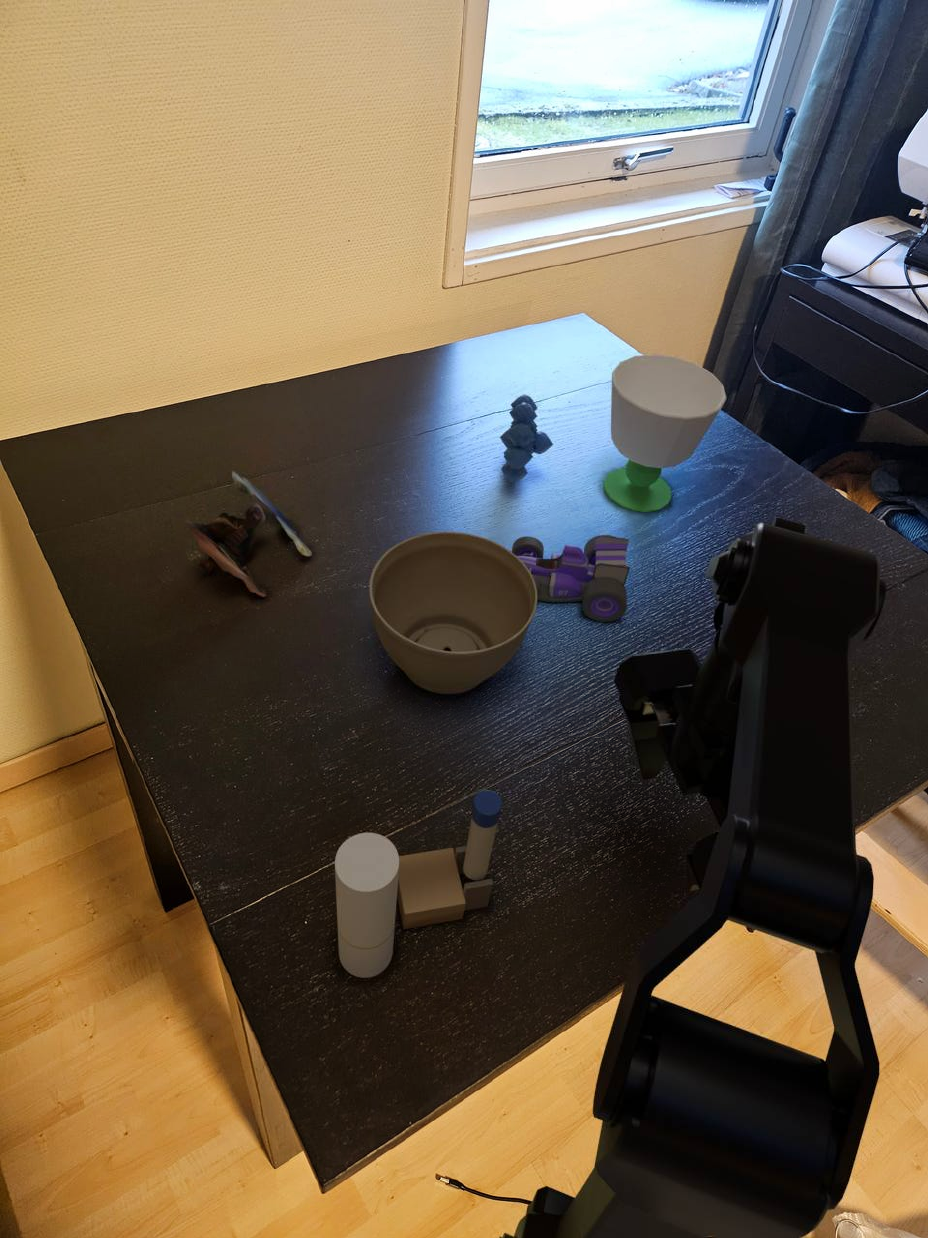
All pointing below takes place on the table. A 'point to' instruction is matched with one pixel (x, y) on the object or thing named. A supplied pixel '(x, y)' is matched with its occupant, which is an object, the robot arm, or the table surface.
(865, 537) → the table surface
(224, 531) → the figurine
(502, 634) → the planter bowl
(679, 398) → the cup
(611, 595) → the toy race car
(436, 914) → the tan block with prongs
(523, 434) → the grapes
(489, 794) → the marker
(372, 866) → the tube
